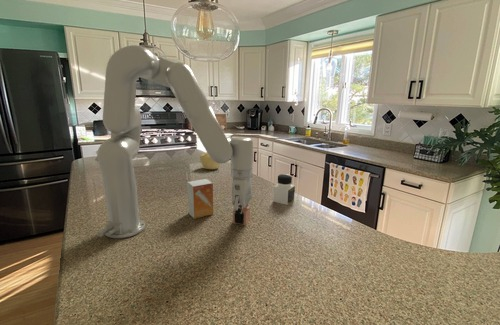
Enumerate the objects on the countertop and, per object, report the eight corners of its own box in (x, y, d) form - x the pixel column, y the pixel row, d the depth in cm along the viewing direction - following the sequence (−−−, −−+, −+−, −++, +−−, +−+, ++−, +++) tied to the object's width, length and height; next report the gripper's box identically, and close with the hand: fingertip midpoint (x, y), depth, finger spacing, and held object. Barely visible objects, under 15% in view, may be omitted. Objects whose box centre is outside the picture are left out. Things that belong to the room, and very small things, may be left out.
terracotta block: (246, 225, 93) (246, 212, 92) (232, 223, 95) (232, 210, 93) (249, 219, 98) (250, 206, 97) (237, 217, 99) (237, 205, 98)
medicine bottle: (287, 205, 111) (289, 178, 108) (272, 201, 114) (273, 175, 112) (294, 200, 117) (295, 174, 114) (279, 196, 120) (281, 171, 117)
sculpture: (212, 165, 174) (211, 149, 171) (223, 168, 166) (223, 152, 163) (197, 168, 166) (197, 151, 163) (209, 172, 158) (208, 154, 155)
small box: (194, 219, 97) (192, 186, 94) (188, 213, 102) (186, 181, 99) (213, 214, 101) (213, 182, 98) (207, 208, 107) (206, 178, 103)
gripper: (244, 180, 83) (244, 232, 87) (258, 167, 99) (257, 211, 103) (222, 178, 85) (223, 229, 89) (239, 165, 101) (239, 209, 105)
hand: (241, 219), depth 96 cm, fingers closed on terracotta block, 5 cm apart
